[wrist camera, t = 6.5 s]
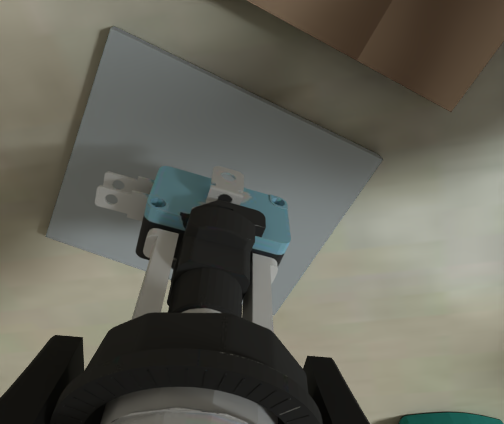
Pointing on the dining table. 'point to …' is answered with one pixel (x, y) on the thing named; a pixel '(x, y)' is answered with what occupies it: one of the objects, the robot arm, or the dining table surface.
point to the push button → (196, 312)
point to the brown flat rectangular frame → (406, 38)
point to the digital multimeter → (448, 419)
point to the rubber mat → (200, 154)
